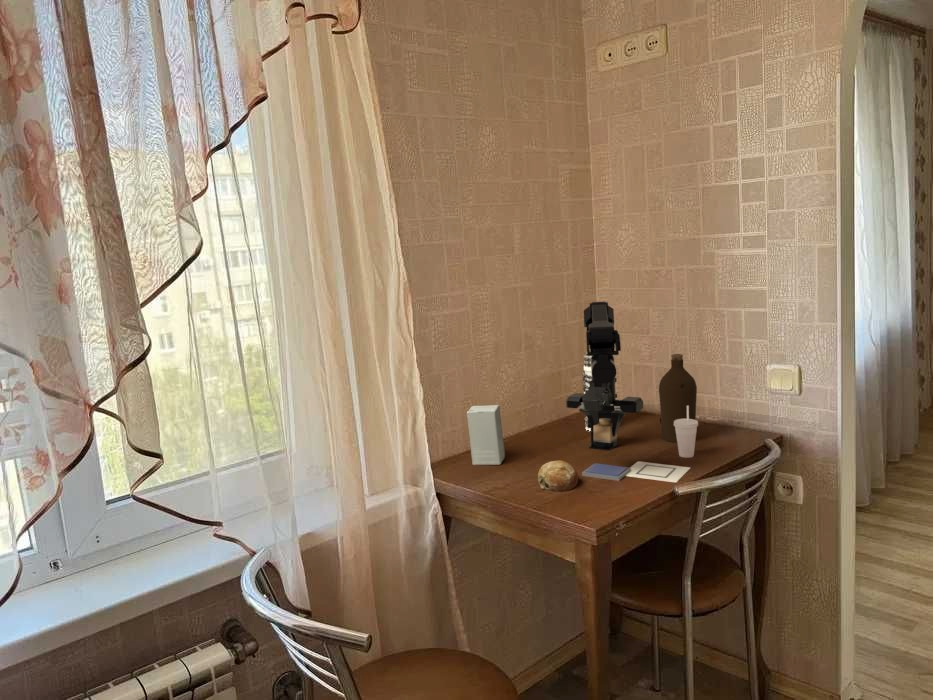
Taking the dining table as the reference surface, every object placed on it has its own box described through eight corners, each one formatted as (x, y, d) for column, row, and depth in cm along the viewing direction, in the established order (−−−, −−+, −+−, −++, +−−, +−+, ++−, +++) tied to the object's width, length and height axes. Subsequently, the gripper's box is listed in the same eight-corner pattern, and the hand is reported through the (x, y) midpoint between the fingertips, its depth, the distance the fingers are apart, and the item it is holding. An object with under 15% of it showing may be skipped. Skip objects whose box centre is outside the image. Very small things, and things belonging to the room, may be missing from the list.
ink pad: (582, 476, 184) (581, 471, 184) (594, 467, 191) (594, 462, 191) (619, 481, 179) (619, 476, 179) (630, 471, 185) (630, 466, 185)
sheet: (621, 476, 183) (621, 474, 182) (637, 462, 192) (637, 460, 192) (676, 483, 175) (676, 481, 175) (690, 468, 185) (690, 467, 185)
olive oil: (705, 438, 210) (704, 354, 206) (679, 445, 205) (677, 359, 201) (678, 431, 219) (676, 350, 215) (652, 438, 214) (650, 355, 210)
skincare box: (505, 458, 203) (502, 404, 201) (499, 466, 196) (496, 410, 194) (476, 458, 206) (472, 404, 203) (469, 465, 199) (466, 410, 196)
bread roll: (535, 497, 181) (525, 474, 178) (557, 471, 187) (548, 447, 184) (567, 506, 174) (556, 481, 171) (588, 478, 180) (579, 454, 177)
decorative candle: (616, 425, 230) (613, 348, 227) (609, 433, 222) (606, 353, 218) (588, 424, 234) (585, 348, 230) (580, 431, 226) (577, 353, 222)
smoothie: (700, 459, 191) (699, 408, 189) (675, 459, 193) (674, 408, 191) (697, 452, 198) (696, 402, 196) (673, 452, 199) (672, 403, 197)
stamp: (593, 441, 183) (593, 419, 182) (600, 438, 187) (600, 417, 186) (610, 443, 180) (610, 421, 180) (616, 439, 184) (617, 418, 184)
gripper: (555, 379, 179) (558, 440, 182) (627, 384, 169) (628, 448, 172) (574, 371, 189) (576, 429, 191) (643, 375, 178) (644, 436, 181)
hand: (605, 435), depth 183 cm, fingers closed on stamp, 4 cm apart
